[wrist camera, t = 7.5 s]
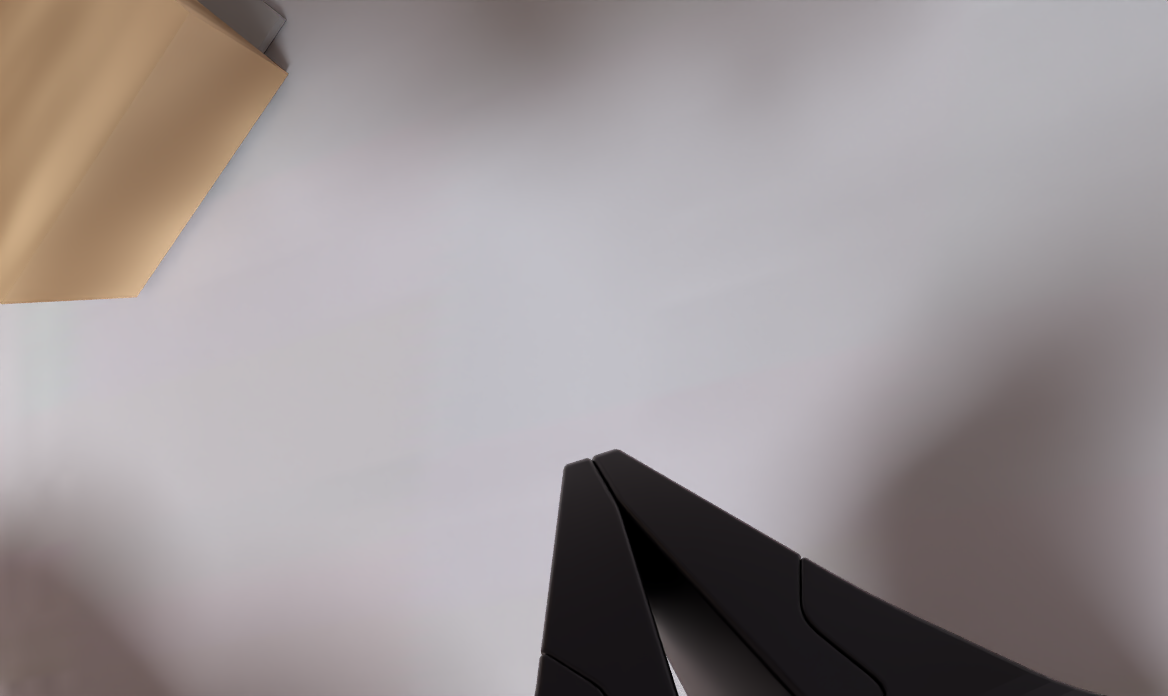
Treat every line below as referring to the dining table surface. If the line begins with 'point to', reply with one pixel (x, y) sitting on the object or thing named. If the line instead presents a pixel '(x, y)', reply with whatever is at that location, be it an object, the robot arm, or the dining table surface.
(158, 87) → the oak block
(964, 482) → the dining table surface
